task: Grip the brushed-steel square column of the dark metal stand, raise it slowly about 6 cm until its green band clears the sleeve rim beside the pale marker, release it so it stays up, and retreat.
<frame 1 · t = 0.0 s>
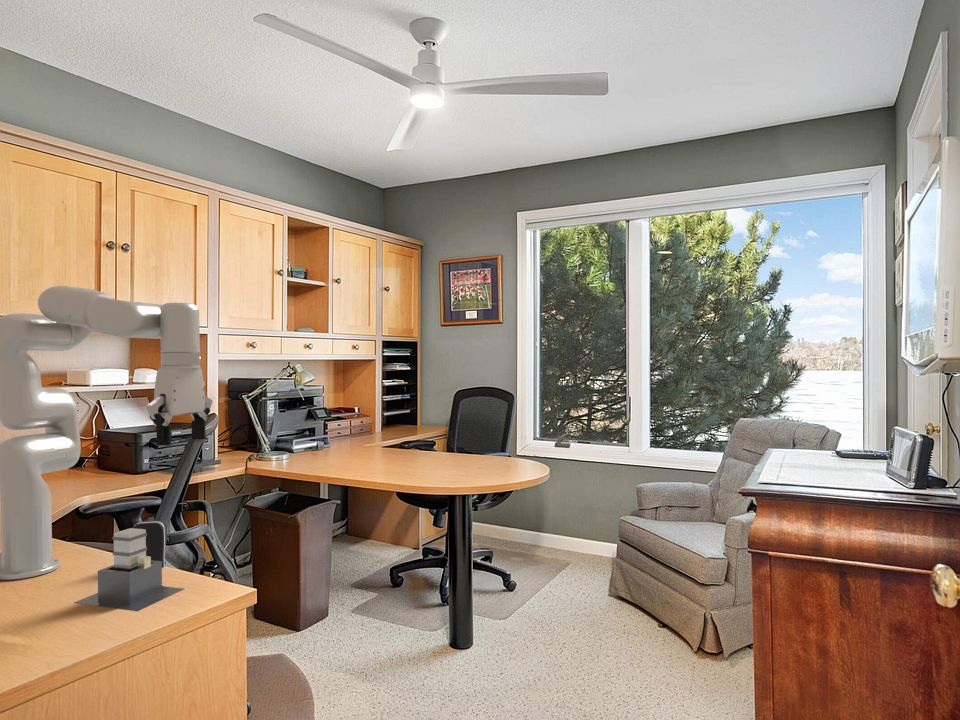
hand: (181, 442, 132), 31 cm above the table, fingers open, 9 cm apart
stand: (130, 600, 126), on the table
column: (130, 563, 126), point 8 cm above the table, slide at 0.0 cm, touching stand
battery charger: (150, 571, 145), on the table
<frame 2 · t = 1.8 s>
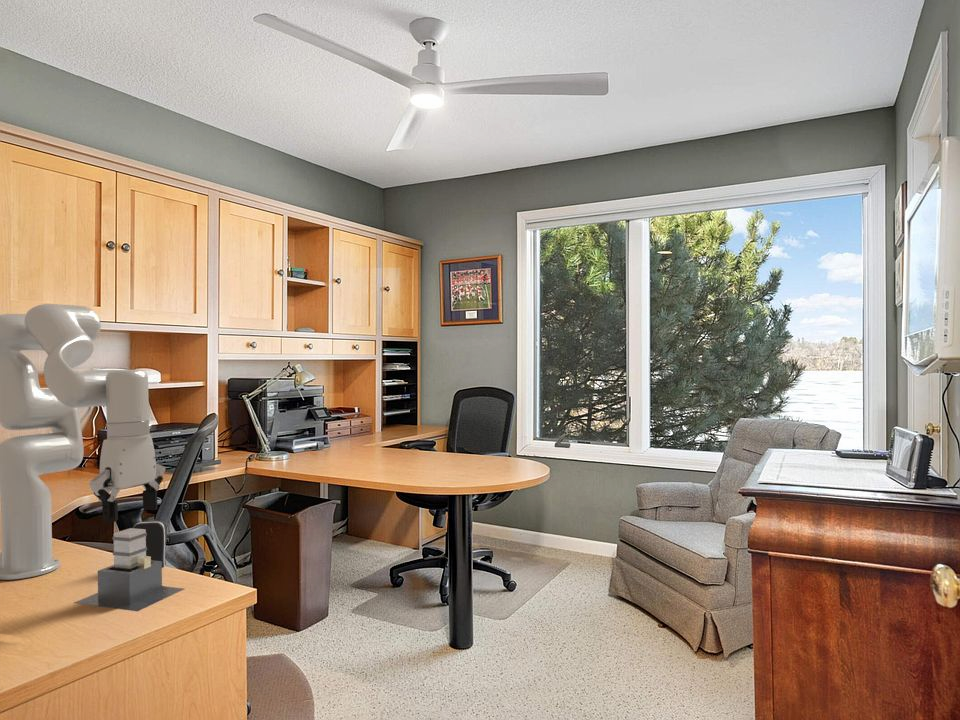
hand: (131, 515, 126), 17 cm above the table, fingers open, 9 cm apart
nothing on the table moved.
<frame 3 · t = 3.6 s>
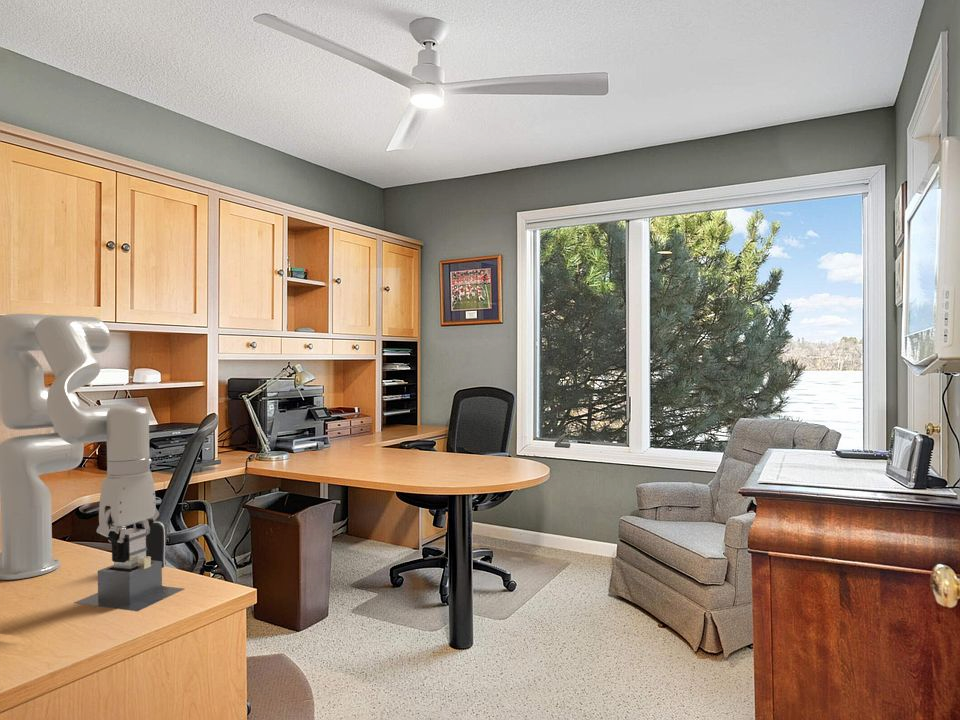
hand: (130, 556, 126), 9 cm above the table, fingers closed on column, 4 cm apart
column: (130, 563, 126), point 7 cm above the table, slide at 0.0 cm, touching gripper, stand
everything else where it was.
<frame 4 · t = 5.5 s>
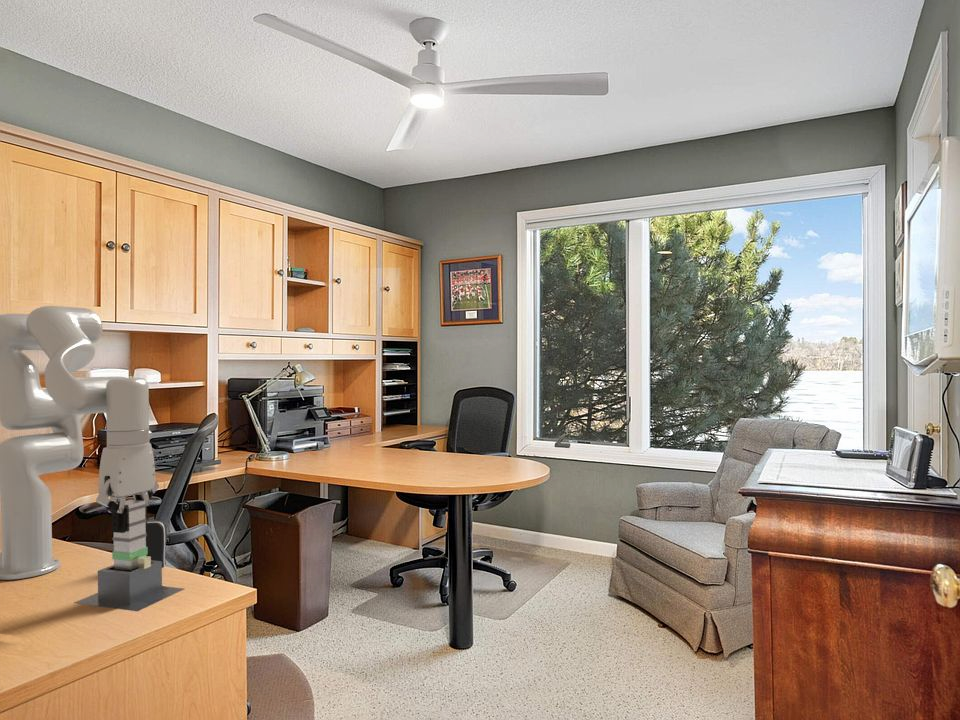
hand: (129, 527, 126), 15 cm above the table, fingers closed on column, 4 cm apart
column: (129, 534, 126), point 13 cm above the table, slide at 5.9 cm, touching gripper
everything else where it was.
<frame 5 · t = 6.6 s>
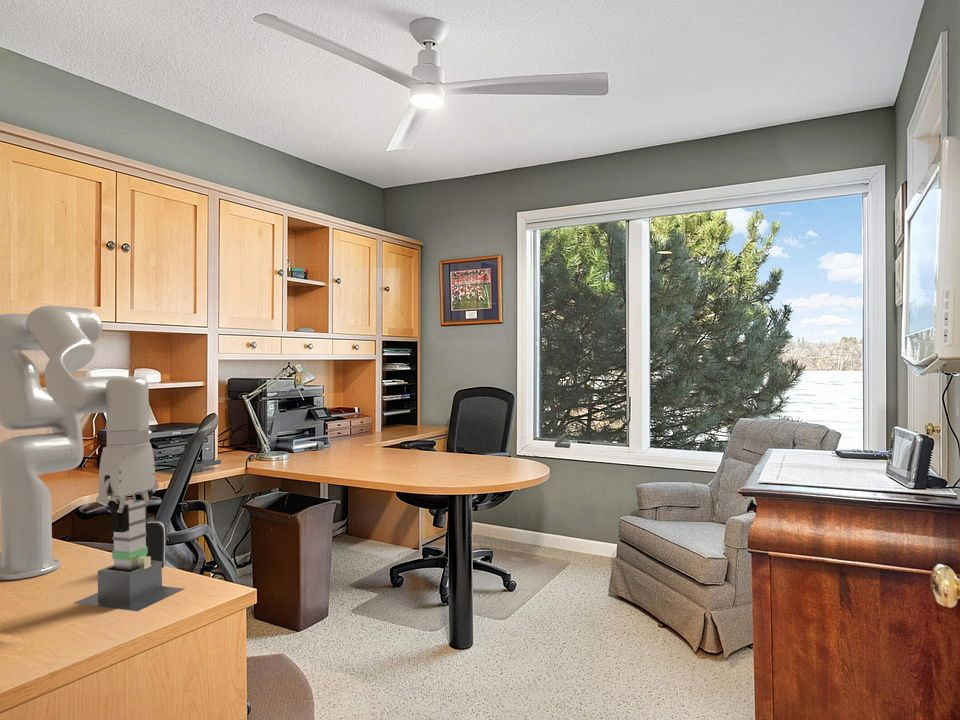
hand: (129, 527, 126), 15 cm above the table, fingers closed on column, 4 cm apart
column: (129, 534, 126), point 13 cm above the table, slide at 6.0 cm, touching gripper
everything else where it was.
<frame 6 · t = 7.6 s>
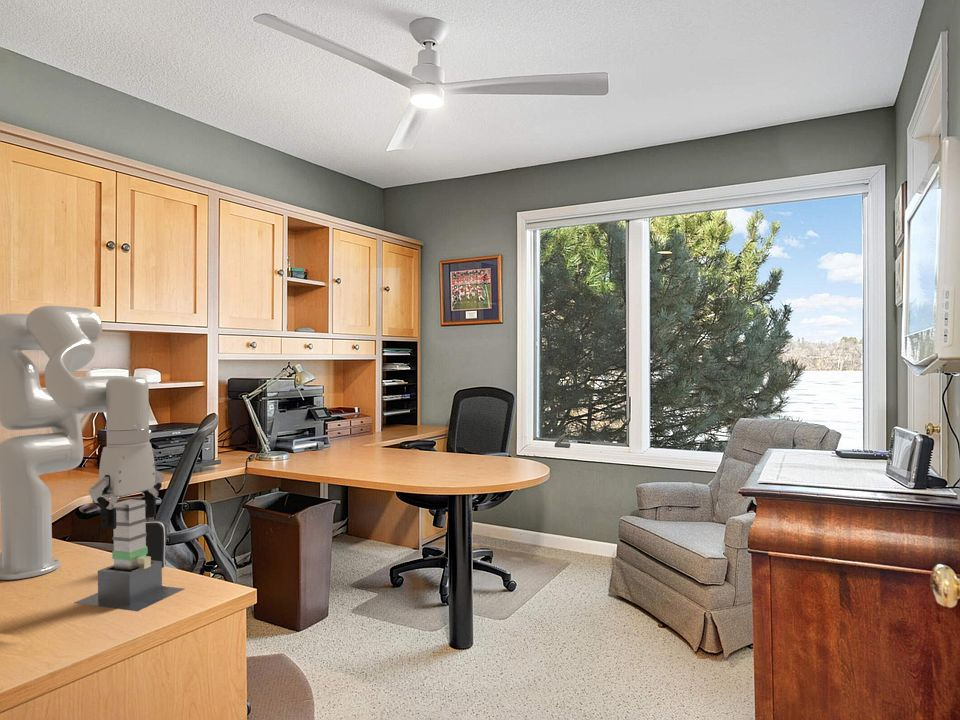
hand: (129, 522, 126), 16 cm above the table, fingers open, 9 cm apart
column: (129, 534, 126), point 13 cm above the table, slide at 6.0 cm
everything else where it was.
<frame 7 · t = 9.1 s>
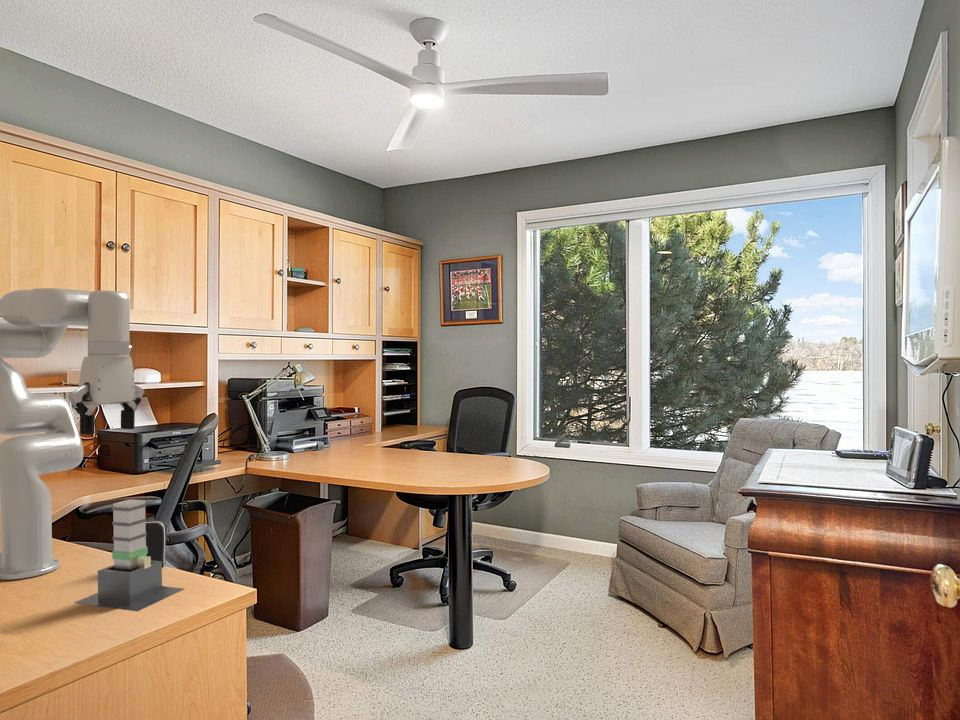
hand: (108, 431, 131), 34 cm above the table, fingers open, 9 cm apart
nothing on the table moved.
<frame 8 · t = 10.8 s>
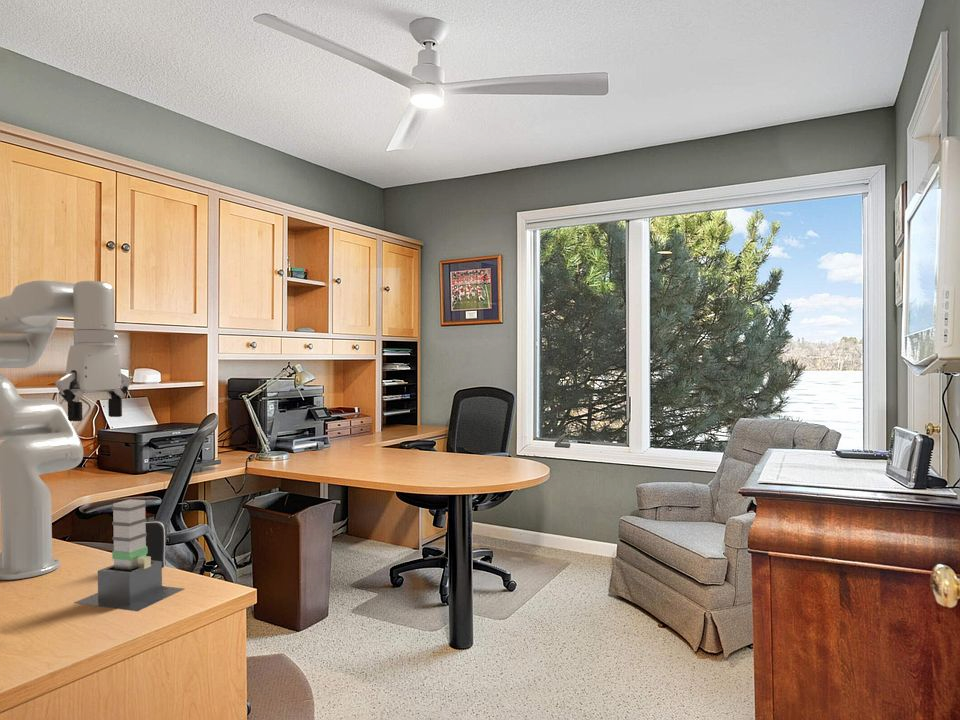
hand: (95, 418, 134), 36 cm above the table, fingers open, 9 cm apart
nothing on the table moved.
at the end: column slide at 6.0 cm; the gripper is holding nothing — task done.
